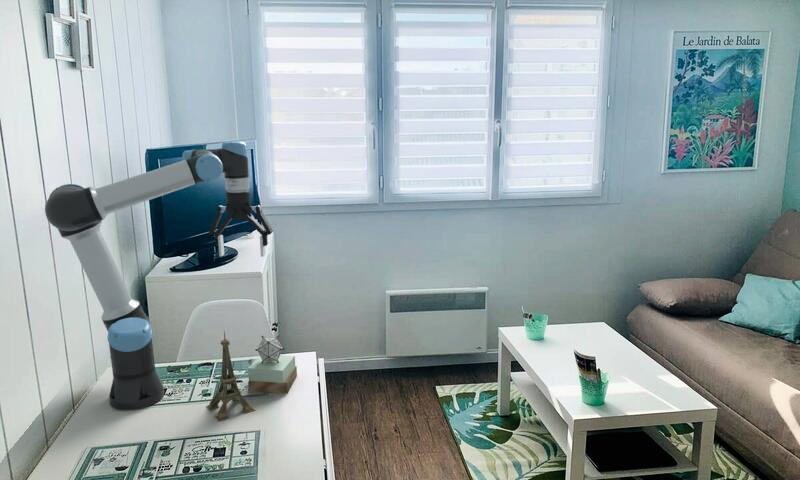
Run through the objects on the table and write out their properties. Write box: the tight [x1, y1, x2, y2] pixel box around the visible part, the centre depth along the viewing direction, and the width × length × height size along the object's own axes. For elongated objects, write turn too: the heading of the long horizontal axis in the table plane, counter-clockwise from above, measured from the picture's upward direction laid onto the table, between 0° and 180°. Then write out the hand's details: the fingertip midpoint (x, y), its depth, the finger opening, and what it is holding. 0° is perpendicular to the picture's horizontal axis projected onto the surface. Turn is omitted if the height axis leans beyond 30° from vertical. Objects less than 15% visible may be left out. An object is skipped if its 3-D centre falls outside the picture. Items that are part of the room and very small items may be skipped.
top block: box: [247, 354, 296, 383], centre depth 201 cm, size 11×11×4 cm
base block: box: [247, 365, 298, 394], centre depth 202 cm, size 12×12×4 cm
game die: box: [255, 334, 286, 364], centre depth 200 cm, size 9×8×10 cm
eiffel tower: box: [206, 331, 256, 422], centre depth 185 cm, size 11×11×25 cm
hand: (242, 255), depth 211 cm, fingers open, 13 cm apart
